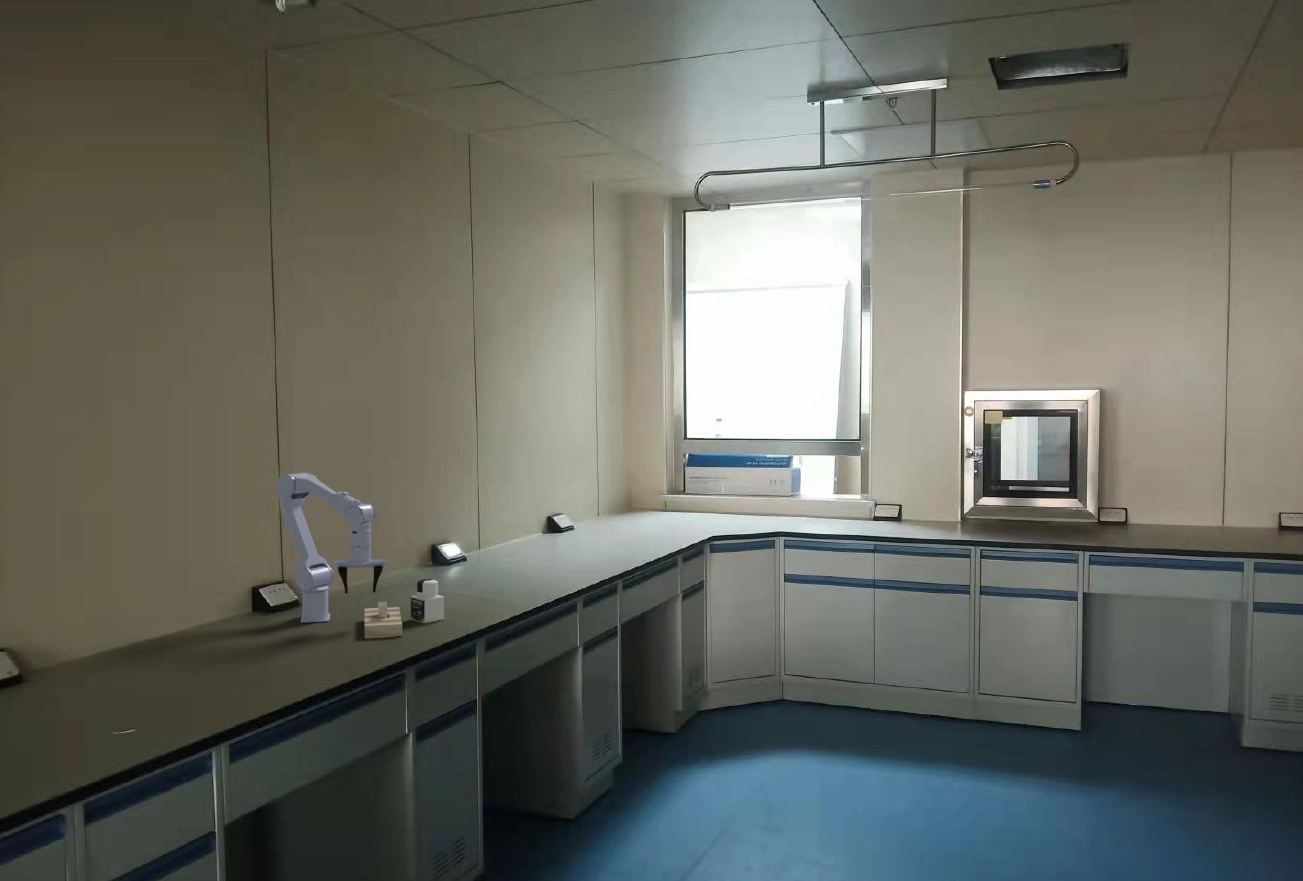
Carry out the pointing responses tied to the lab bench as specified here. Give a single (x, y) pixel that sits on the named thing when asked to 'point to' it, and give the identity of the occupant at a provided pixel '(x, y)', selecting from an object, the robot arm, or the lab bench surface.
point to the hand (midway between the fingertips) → (360, 592)
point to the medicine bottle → (427, 602)
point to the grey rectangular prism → (382, 609)
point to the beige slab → (383, 623)
